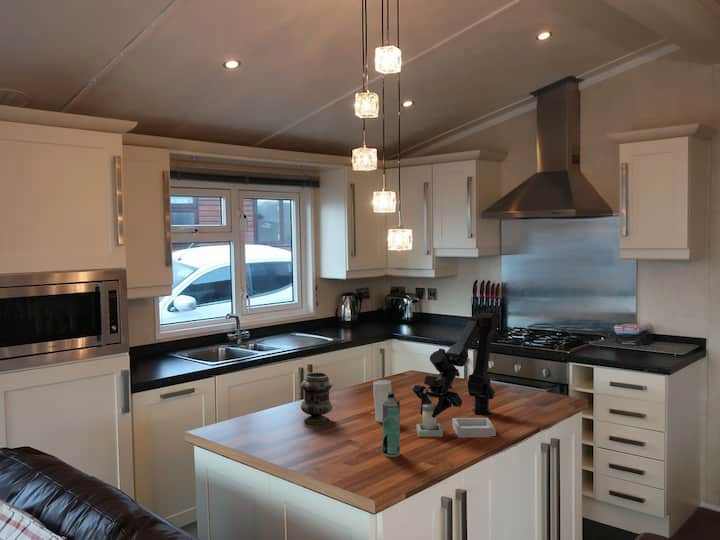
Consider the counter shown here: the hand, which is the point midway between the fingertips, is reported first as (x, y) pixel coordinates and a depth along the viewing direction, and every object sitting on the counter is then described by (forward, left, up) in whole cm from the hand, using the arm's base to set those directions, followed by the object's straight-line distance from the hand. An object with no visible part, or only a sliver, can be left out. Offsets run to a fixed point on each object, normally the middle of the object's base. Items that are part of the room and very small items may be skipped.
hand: (427, 415), depth 221 cm
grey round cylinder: (-1, +1, -7) cm, 7 cm away
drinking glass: (-16, -15, -7) cm, 23 cm away
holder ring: (-1, +1, -7) cm, 7 cm away
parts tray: (-2, +17, -7) cm, 18 cm away
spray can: (+20, -14, -7) cm, 25 cm away
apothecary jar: (-17, -40, -7) cm, 44 cm away
